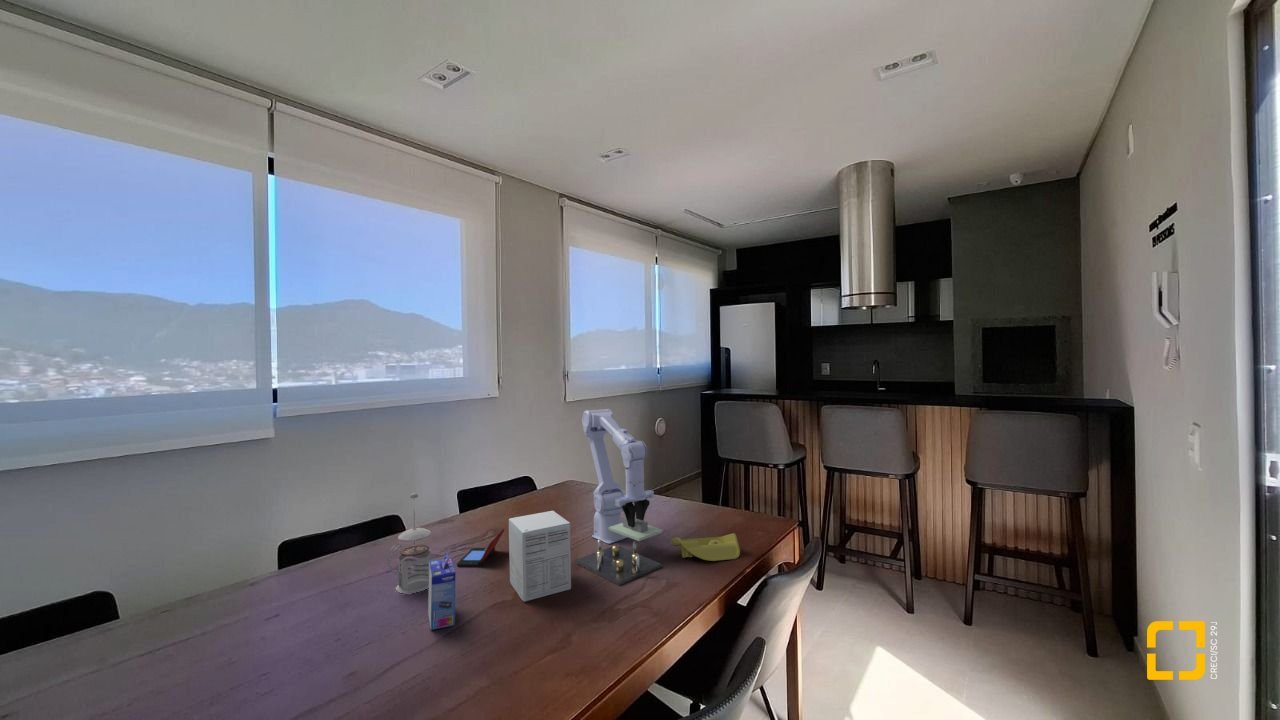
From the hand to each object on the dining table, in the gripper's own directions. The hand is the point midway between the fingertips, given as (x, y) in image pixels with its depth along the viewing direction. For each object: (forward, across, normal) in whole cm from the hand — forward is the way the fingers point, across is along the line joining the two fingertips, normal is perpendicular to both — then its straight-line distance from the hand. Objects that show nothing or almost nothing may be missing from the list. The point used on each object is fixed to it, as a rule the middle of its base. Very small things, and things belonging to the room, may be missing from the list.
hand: (635, 525), depth 146 cm
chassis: (+9, -9, -2) cm, 13 cm away
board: (+2, 0, 0) cm, 2 cm away
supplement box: (+9, -32, +3) cm, 34 cm away
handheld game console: (+9, -35, +32) cm, 48 cm away
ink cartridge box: (+9, -57, +5) cm, 58 cm away
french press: (+9, -57, +27) cm, 64 cm away
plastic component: (+9, +14, -15) cm, 23 cm away
